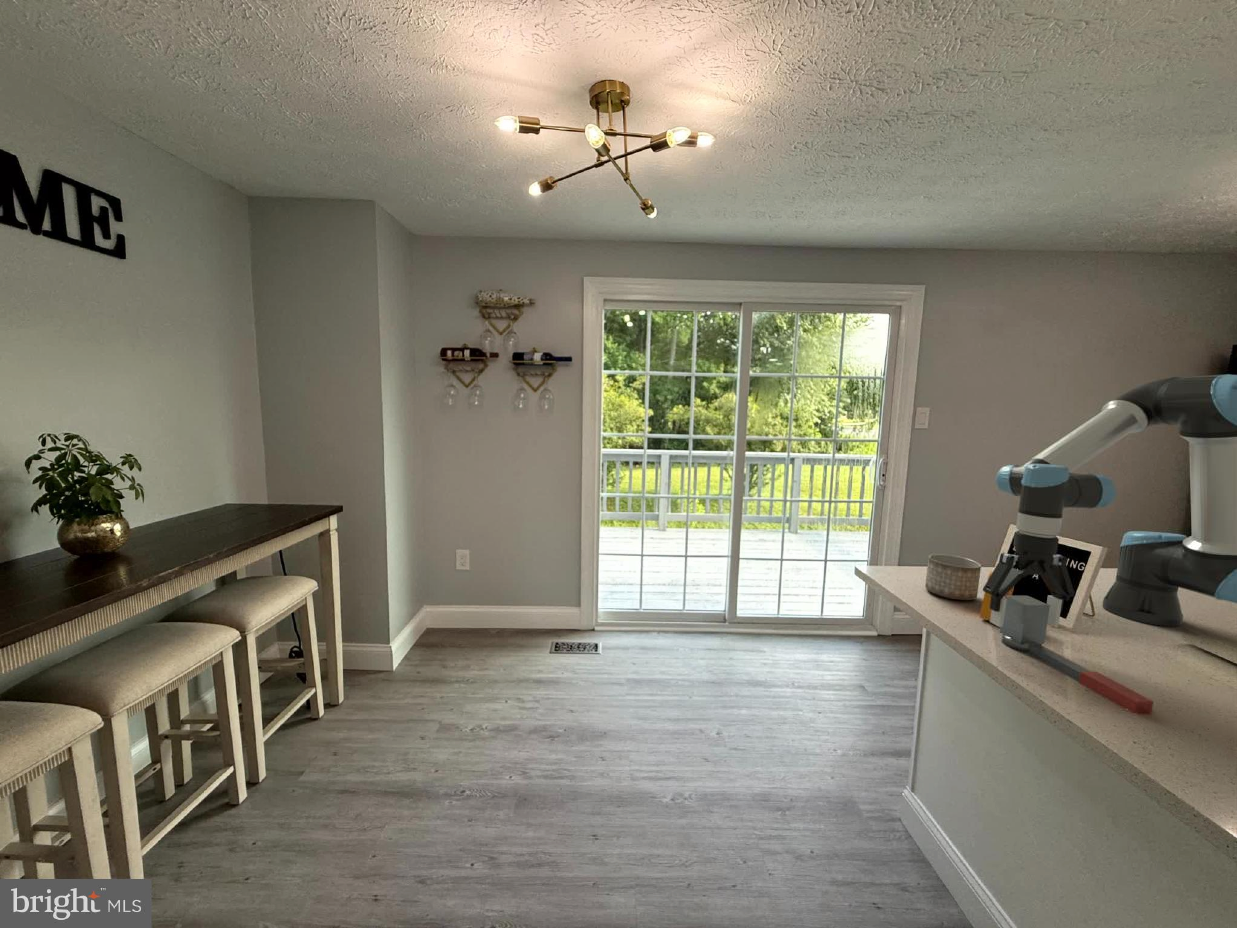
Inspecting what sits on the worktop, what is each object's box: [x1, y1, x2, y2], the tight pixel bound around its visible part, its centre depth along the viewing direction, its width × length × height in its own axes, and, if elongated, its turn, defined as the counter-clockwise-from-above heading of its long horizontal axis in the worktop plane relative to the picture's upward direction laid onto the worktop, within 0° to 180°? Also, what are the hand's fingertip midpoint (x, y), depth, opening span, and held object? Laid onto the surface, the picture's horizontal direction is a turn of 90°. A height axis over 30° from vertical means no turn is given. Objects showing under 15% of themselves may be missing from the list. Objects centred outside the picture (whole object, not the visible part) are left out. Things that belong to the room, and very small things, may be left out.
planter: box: [924, 553, 982, 601], centre depth 144 cm, size 13×13×10 cm
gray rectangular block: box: [999, 595, 1050, 645], centre depth 113 cm, size 6×6×9 cm
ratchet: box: [1001, 634, 1154, 715], centre depth 103 cm, size 28×7×6 cm, turn 4°
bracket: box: [979, 571, 1015, 621], centre depth 127 cm, size 11×7×12 cm, turn 131°
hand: (1023, 624), depth 113 cm, fingers open, 13 cm apart
